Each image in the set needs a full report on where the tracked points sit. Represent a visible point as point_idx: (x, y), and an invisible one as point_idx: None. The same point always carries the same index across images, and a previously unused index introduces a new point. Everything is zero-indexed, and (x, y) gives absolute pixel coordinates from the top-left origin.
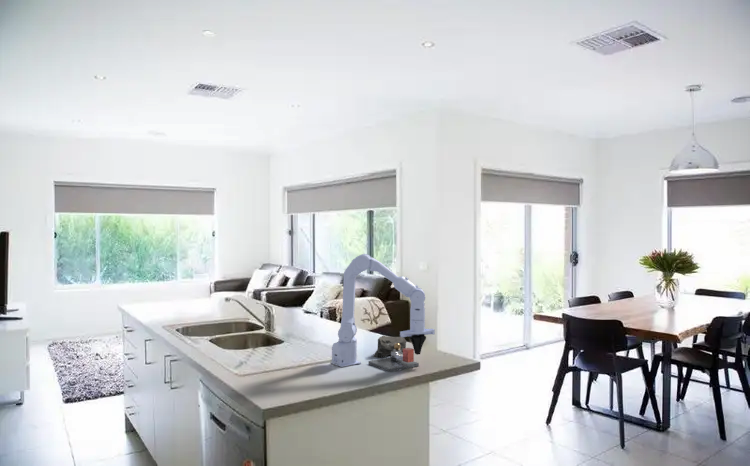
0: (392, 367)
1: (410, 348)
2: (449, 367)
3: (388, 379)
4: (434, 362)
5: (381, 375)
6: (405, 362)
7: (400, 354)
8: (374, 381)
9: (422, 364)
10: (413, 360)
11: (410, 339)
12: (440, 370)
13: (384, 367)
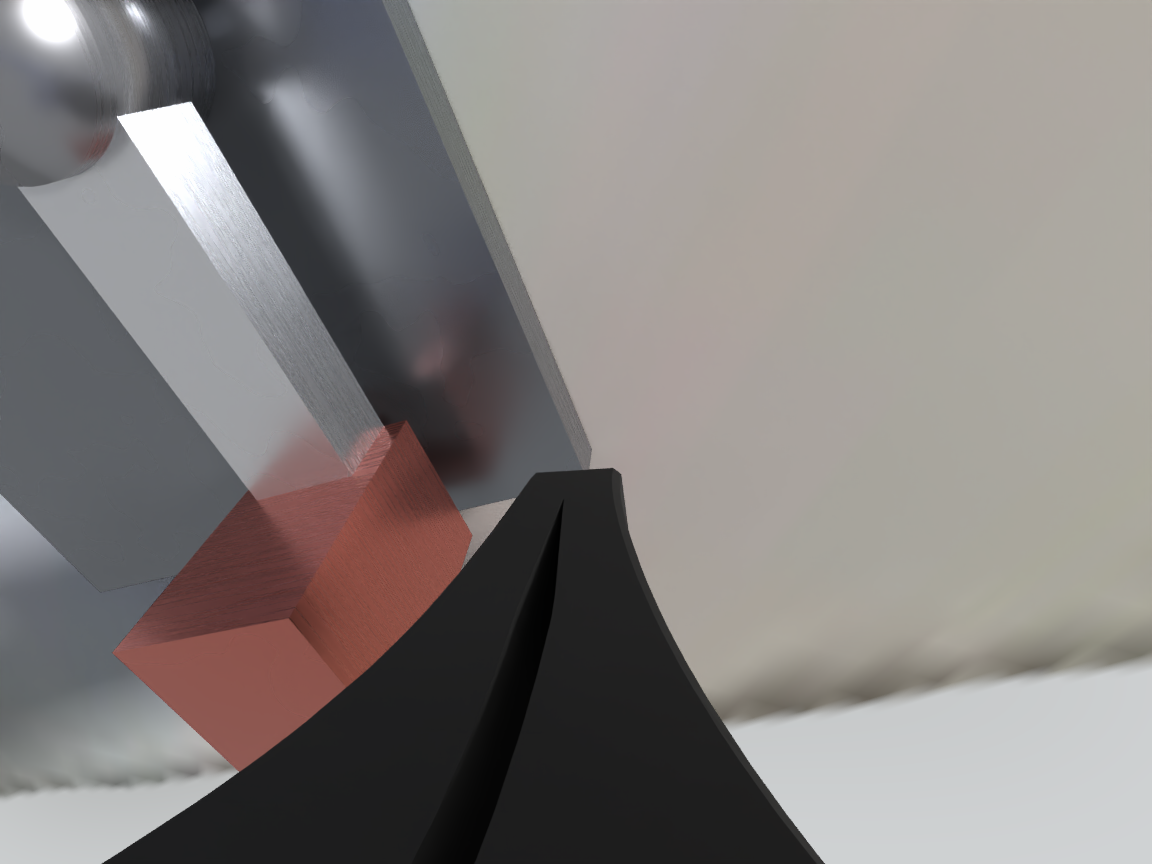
0: (127, 556)
1: (326, 693)
2: (1007, 630)
3: (129, 731)
4: (1027, 314)
5: (38, 627)
6: (360, 376)
7: (185, 297)
8: (3, 733)
9: (710, 372)
10: (464, 547)
11: (224, 810)
12: (786, 685)
13: (8, 484)
